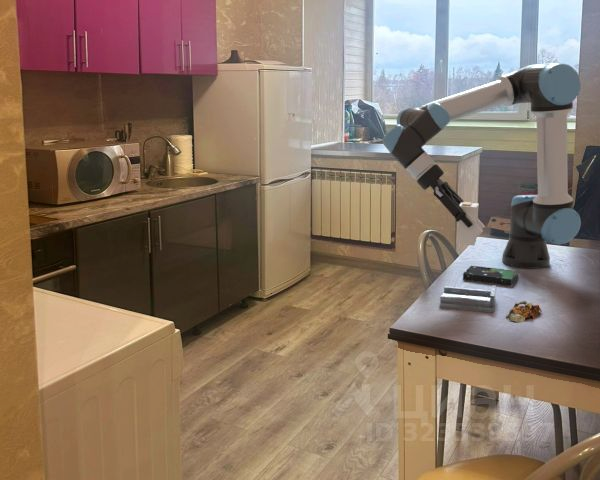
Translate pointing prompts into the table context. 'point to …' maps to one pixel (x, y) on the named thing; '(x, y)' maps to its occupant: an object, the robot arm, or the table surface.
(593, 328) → the table surface
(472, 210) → the block
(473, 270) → the disk drive
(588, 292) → the table surface
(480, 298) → the rail base
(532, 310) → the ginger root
